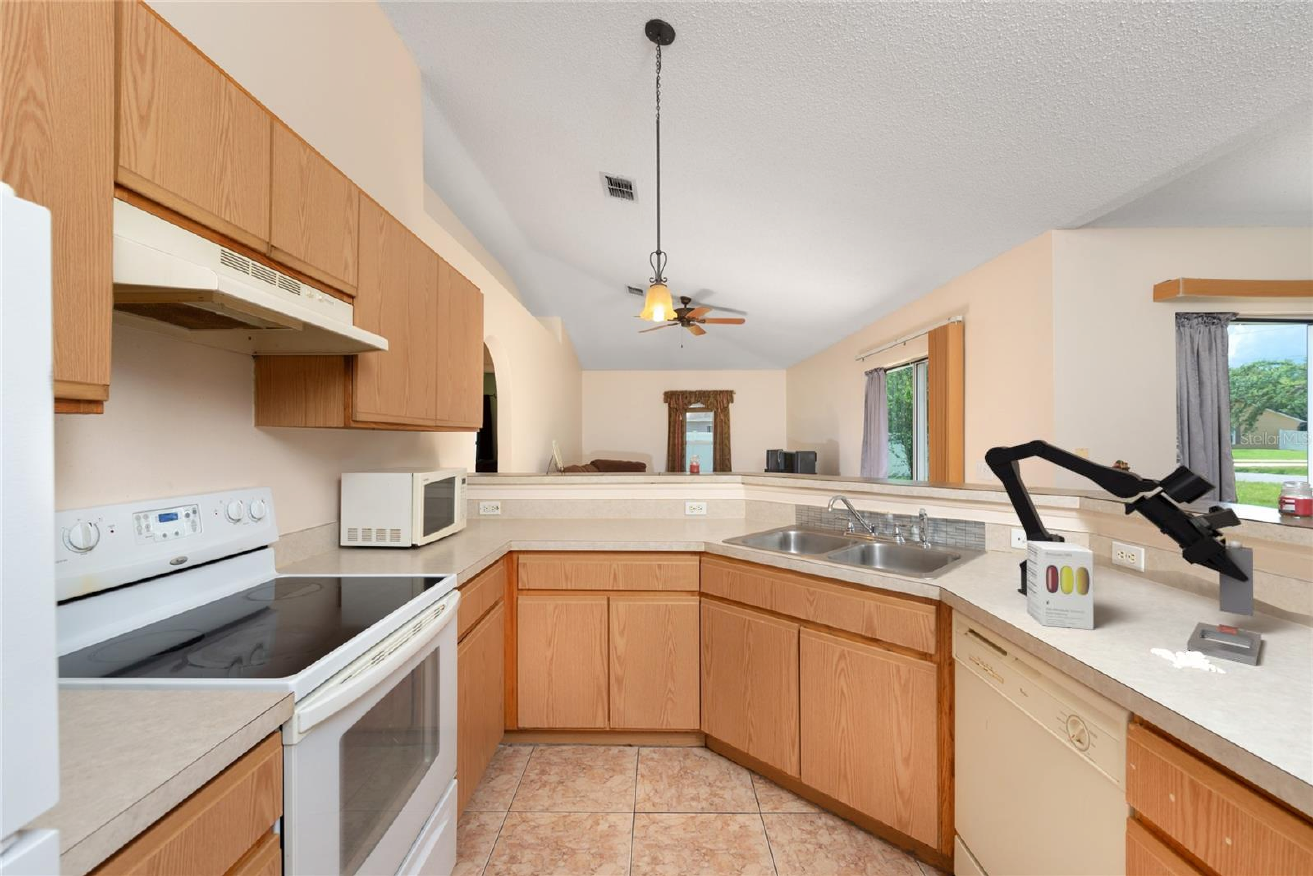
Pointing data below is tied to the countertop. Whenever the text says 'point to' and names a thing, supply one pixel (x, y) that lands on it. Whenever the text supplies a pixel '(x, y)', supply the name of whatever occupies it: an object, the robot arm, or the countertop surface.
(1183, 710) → the countertop surface
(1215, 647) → the socket plate
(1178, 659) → the acanthus leaf ornament
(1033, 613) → the supplement box
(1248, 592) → the plug
